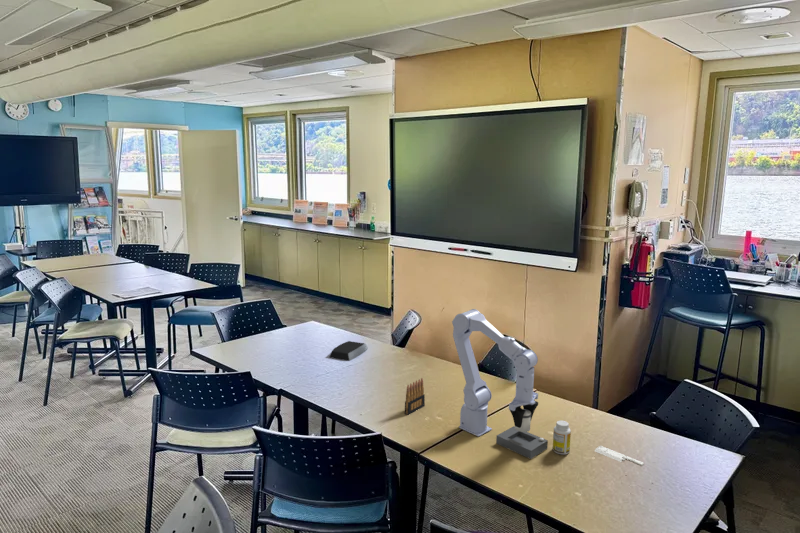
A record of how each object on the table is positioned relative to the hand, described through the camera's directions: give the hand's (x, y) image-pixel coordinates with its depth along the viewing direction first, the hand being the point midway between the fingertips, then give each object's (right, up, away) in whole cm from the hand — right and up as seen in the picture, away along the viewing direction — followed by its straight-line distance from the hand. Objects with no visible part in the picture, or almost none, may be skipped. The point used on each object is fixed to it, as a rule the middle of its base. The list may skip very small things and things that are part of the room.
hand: (522, 423), depth 187 cm
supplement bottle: (+13, -9, -1) cm, 16 cm away
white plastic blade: (+30, -10, -5) cm, 32 cm away
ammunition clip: (-36, -3, +29) cm, 46 cm away
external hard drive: (-68, +9, +93) cm, 116 cm away
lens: (0, -2, 0) cm, 2 cm away
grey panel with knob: (0, -8, +2) cm, 8 cm away
